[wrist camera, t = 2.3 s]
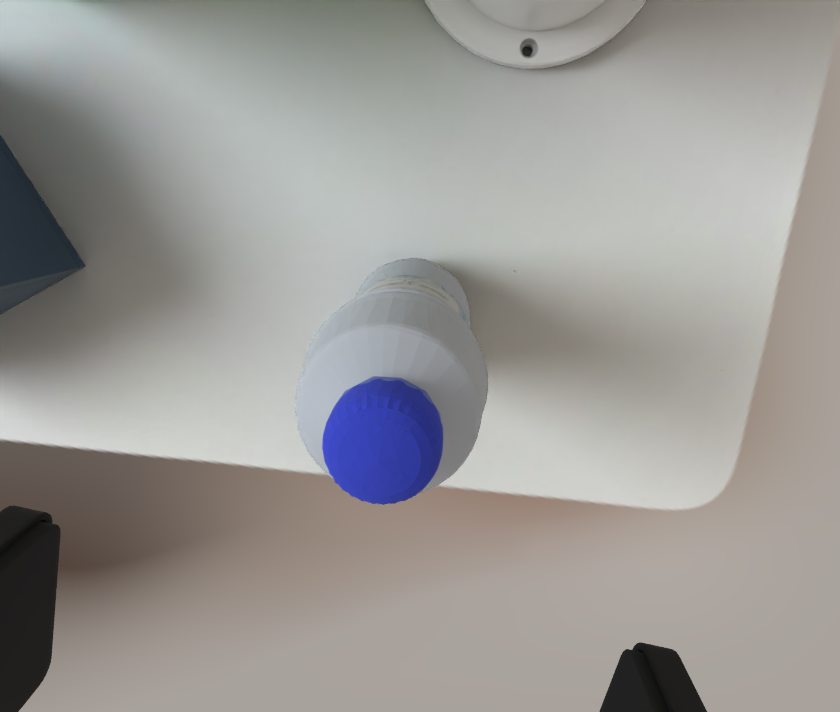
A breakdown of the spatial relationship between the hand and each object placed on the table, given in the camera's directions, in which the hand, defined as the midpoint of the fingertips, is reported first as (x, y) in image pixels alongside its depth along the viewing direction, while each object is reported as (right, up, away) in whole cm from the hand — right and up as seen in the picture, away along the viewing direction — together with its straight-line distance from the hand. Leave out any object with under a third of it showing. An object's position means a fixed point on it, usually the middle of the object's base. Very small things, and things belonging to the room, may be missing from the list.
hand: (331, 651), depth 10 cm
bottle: (+1, +8, +26) cm, 27 cm away
